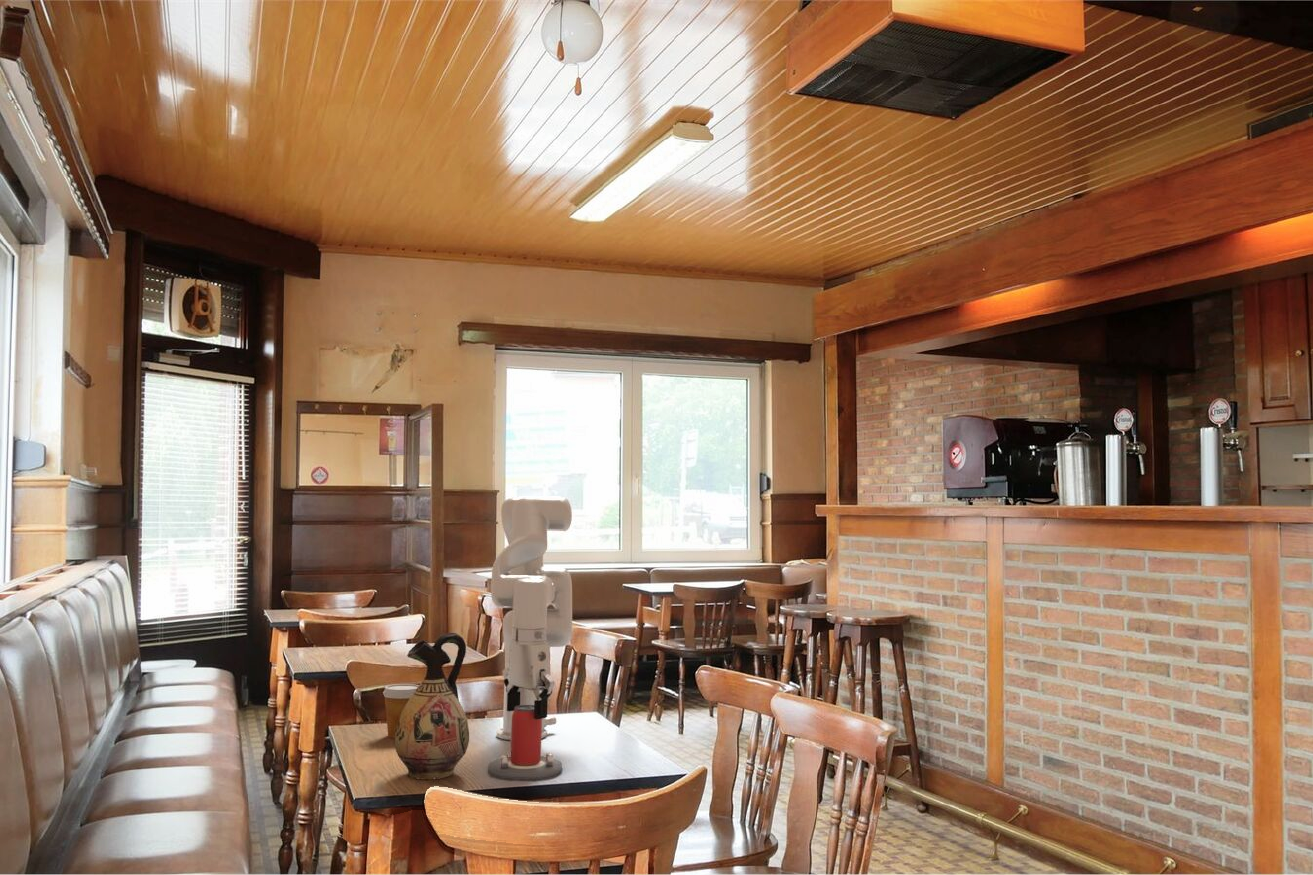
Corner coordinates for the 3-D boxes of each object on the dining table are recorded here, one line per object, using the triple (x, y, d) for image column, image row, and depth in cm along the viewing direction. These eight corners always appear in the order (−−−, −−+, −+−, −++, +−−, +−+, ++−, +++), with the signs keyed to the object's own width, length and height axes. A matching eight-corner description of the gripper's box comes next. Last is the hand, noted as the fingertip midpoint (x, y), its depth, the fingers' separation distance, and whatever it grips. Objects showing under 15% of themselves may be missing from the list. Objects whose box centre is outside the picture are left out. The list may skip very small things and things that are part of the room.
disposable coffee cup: (428, 735, 257) (430, 686, 258) (400, 741, 249) (402, 691, 250) (401, 730, 262) (403, 682, 263) (373, 736, 254) (374, 687, 255)
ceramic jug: (400, 787, 208) (406, 637, 210) (388, 769, 222) (393, 629, 225) (483, 780, 215) (487, 635, 217) (466, 763, 229) (470, 627, 231)
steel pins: (522, 756, 230) (523, 745, 230) (554, 766, 222) (554, 754, 222) (485, 763, 223) (486, 751, 223) (517, 773, 215) (517, 761, 215)
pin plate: (532, 758, 234) (532, 751, 235) (577, 772, 223) (577, 764, 223) (473, 769, 223) (473, 762, 223) (517, 784, 212) (517, 776, 212)
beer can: (545, 761, 226) (547, 705, 226) (532, 768, 219) (534, 711, 220) (518, 758, 228) (520, 703, 228) (504, 765, 221) (506, 708, 222)
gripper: (567, 638, 222) (565, 719, 221) (519, 629, 234) (516, 705, 233) (539, 641, 217) (537, 724, 216) (492, 632, 229) (489, 709, 228)
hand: (526, 714), depth 225 cm, fingers open, 9 cm apart
